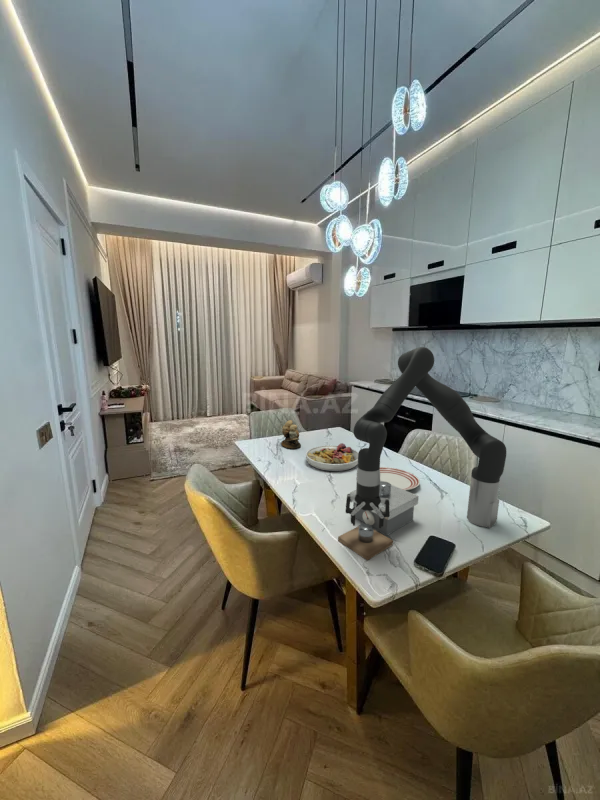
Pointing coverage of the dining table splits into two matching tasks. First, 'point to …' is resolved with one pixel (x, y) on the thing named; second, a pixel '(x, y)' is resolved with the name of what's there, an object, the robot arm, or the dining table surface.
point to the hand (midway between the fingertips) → (366, 525)
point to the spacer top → (365, 533)
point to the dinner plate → (399, 478)
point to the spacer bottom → (385, 489)
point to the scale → (385, 520)
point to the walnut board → (362, 548)
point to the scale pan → (396, 501)
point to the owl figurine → (290, 436)
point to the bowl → (332, 457)
